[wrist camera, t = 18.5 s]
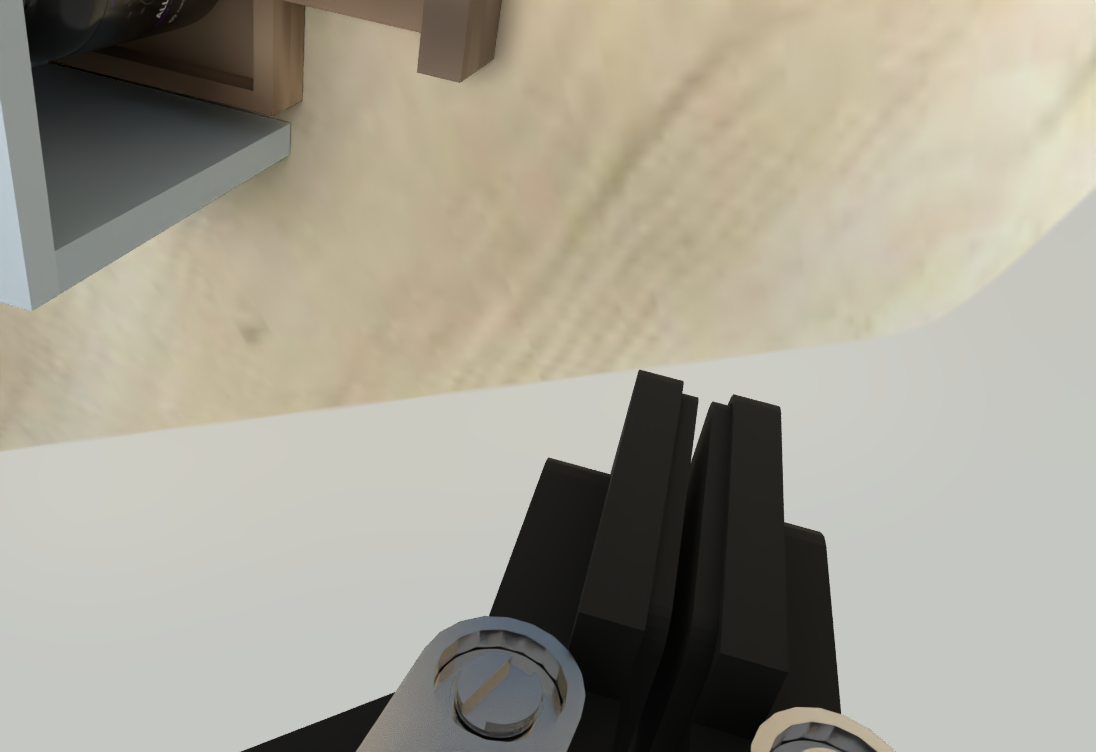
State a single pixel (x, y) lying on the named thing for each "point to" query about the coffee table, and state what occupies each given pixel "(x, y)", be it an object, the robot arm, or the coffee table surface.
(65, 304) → the coffee table surface
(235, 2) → the paddle tray
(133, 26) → the supplement bottle
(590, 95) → the coffee table surface
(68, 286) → the shelf
